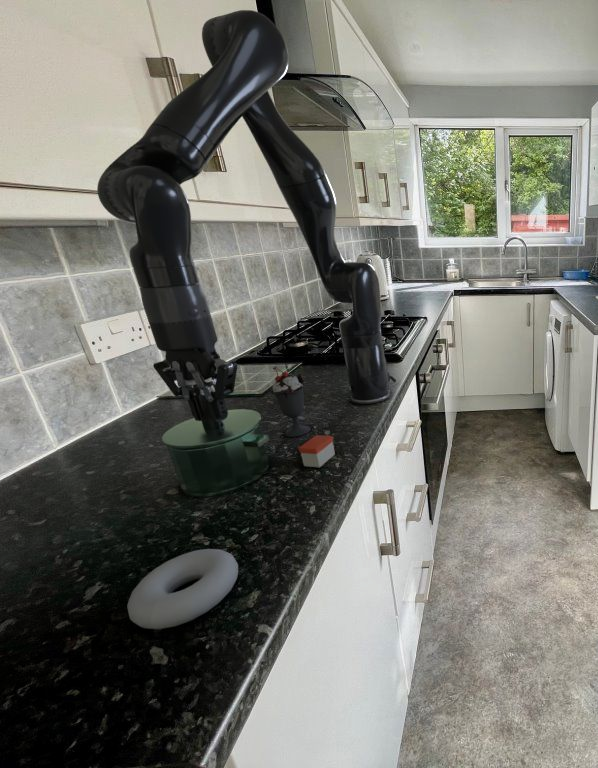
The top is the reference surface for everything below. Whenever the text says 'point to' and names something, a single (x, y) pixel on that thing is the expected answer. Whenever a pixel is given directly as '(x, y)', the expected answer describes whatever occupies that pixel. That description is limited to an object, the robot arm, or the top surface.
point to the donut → (167, 609)
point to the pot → (221, 464)
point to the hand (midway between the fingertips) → (211, 419)
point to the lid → (210, 427)
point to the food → (317, 451)
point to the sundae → (290, 400)
